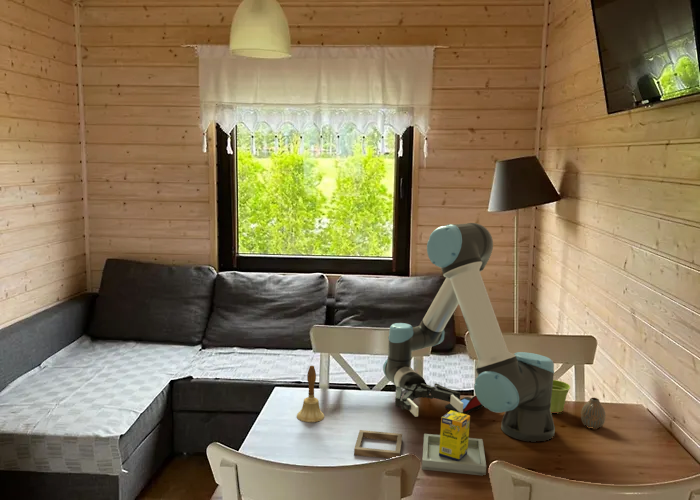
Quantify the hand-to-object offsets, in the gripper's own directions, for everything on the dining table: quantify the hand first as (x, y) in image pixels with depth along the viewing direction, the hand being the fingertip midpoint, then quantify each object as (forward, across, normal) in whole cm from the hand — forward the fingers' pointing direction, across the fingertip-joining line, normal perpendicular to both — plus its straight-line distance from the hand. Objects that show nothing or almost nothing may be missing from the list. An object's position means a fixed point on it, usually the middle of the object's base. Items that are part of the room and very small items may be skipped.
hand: (439, 409), depth 184 cm
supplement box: (+10, 0, -9) cm, 13 cm away
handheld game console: (-20, -20, -10) cm, 30 cm away
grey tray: (+10, 0, -10) cm, 14 cm away
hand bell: (-24, +30, -10) cm, 40 cm away
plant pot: (-13, -46, -10) cm, 49 cm away
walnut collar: (-1, +17, -10) cm, 20 cm away
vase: (0, -51, -10) cm, 52 cm away
